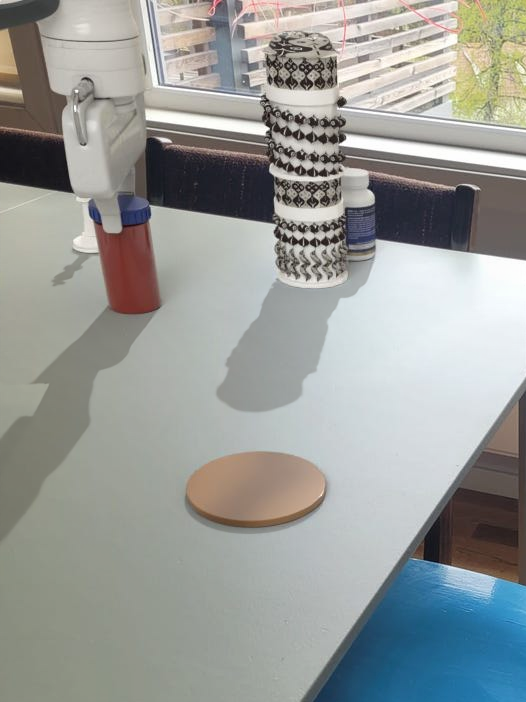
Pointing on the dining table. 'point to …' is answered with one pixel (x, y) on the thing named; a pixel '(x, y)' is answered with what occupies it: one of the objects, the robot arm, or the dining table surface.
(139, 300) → the jar
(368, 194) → the pill bottle
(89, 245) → the chess piece
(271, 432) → the dining table surface
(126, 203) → the lid
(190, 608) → the dining table surface
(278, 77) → the decorative candle
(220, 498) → the coaster
